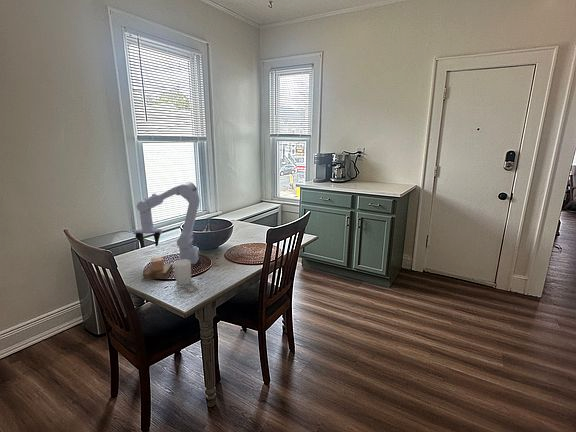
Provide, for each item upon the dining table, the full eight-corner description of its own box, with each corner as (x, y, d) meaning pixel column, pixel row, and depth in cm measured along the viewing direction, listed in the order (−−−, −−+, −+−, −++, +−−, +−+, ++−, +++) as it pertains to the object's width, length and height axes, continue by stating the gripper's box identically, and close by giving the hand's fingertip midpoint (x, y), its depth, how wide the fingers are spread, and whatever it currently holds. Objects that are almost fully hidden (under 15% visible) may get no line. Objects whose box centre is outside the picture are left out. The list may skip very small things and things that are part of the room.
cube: (162, 265, 164) (161, 256, 162) (163, 269, 159) (162, 260, 158) (152, 267, 161) (151, 258, 160) (153, 271, 157) (151, 262, 156)
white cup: (182, 287, 147) (180, 267, 145) (171, 283, 151) (169, 263, 149) (195, 280, 154) (194, 261, 151) (184, 276, 158) (182, 258, 155)
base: (172, 269, 167) (172, 263, 166) (166, 278, 156) (165, 272, 155) (151, 270, 166) (150, 264, 165) (143, 279, 155) (142, 273, 155)
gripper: (162, 219, 175) (165, 242, 179) (135, 220, 174) (139, 243, 178) (158, 223, 168) (161, 247, 172) (130, 224, 167) (134, 248, 171)
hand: (149, 245), depth 174 cm, fingers open, 7 cm apart
